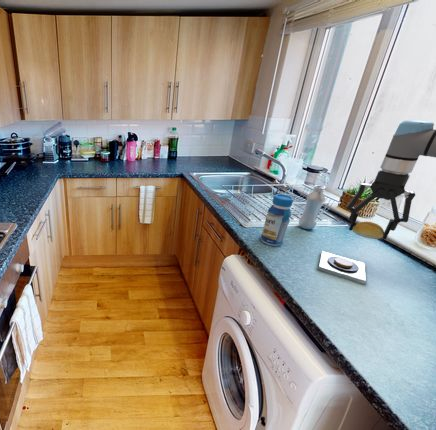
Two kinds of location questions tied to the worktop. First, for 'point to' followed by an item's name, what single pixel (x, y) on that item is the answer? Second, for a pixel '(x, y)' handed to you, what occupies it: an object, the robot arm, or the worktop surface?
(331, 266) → the push button
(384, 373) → the worktop surface
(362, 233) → the bread roll
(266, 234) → the beverage bottle
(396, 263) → the worktop surface
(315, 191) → the plastic bottle
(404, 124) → the robot arm
